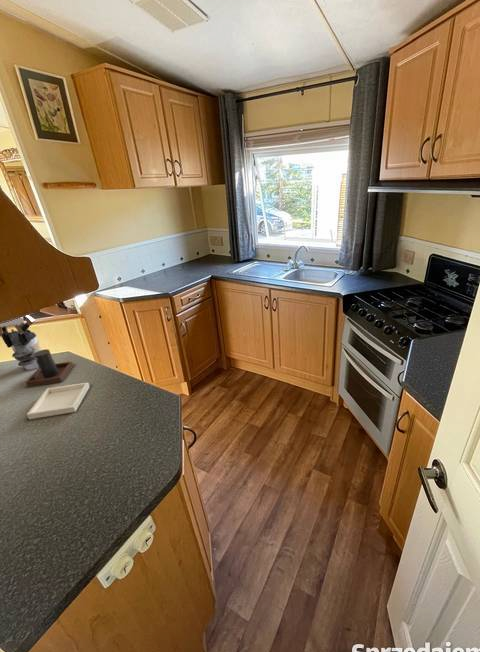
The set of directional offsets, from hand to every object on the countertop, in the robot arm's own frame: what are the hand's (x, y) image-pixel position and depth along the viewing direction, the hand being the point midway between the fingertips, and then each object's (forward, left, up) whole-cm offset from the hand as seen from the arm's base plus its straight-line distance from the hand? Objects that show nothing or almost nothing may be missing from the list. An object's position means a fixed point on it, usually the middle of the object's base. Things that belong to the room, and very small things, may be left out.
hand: (19, 343), depth 92 cm
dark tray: (-4, +15, -21) cm, 26 cm away
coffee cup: (-15, +26, -22) cm, 37 cm away
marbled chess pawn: (0, 0, -7) cm, 7 cm away
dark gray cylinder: (-4, +15, -21) cm, 26 cm away
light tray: (+7, -4, -21) cm, 23 cm away
